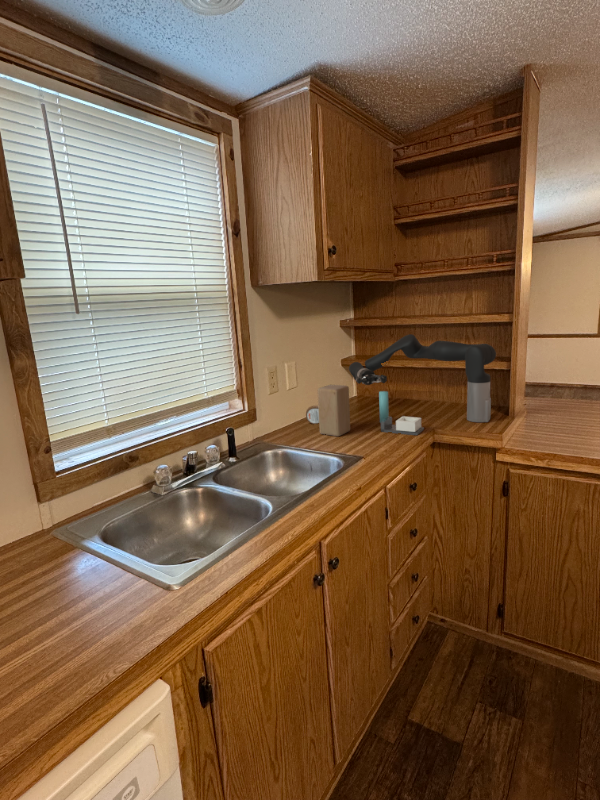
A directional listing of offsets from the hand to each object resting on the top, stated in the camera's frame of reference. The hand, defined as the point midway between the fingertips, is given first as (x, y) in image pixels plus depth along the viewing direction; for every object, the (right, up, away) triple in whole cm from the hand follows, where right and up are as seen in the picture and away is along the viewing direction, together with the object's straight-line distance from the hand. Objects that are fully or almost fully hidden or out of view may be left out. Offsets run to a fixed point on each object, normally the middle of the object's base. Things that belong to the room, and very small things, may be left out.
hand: (375, 381), depth 212 cm
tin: (-25, -20, -3) cm, 32 cm away
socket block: (+10, -21, -24) cm, 33 cm away
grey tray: (+7, -22, -23) cm, 32 cm away
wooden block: (-21, -23, -20) cm, 36 cm away
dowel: (+3, -19, -8) cm, 20 cm away
